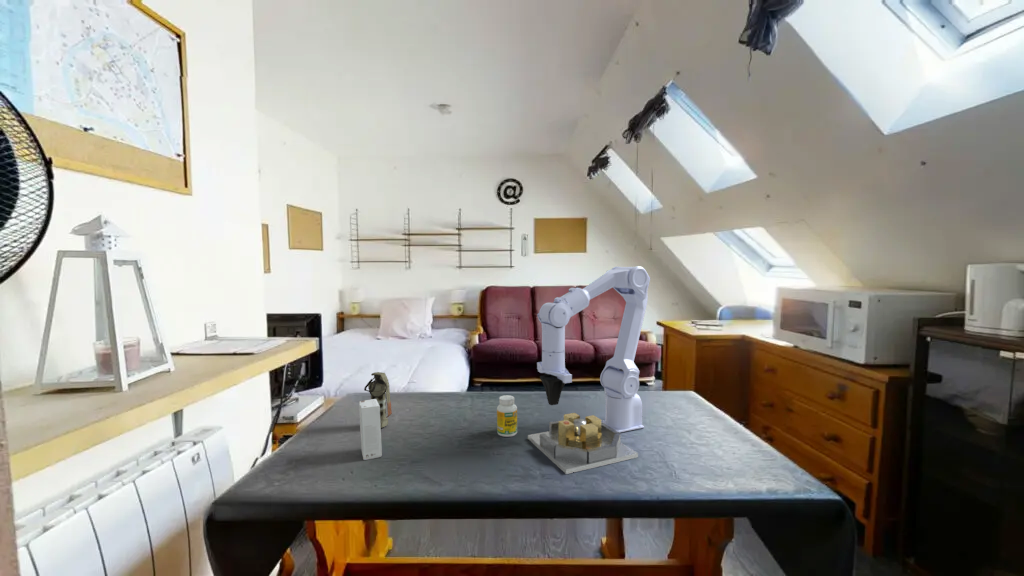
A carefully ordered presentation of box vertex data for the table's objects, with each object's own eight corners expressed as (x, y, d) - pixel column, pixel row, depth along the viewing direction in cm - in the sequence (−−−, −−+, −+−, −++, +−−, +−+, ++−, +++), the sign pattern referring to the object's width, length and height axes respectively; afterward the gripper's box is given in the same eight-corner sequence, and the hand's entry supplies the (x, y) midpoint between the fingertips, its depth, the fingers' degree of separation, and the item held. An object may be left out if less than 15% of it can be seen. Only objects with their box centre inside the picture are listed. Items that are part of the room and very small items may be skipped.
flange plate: (590, 427, 108) (590, 403, 108) (637, 457, 90) (638, 429, 90) (527, 438, 101) (527, 413, 100) (566, 474, 83) (566, 443, 83)
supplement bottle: (510, 427, 108) (510, 393, 108) (521, 434, 104) (521, 398, 103) (493, 432, 105) (493, 396, 105) (504, 439, 101) (503, 402, 100)
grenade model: (360, 431, 106) (359, 376, 105) (378, 421, 112) (377, 370, 112) (380, 434, 104) (378, 378, 103) (397, 425, 110) (396, 372, 109)
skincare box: (382, 457, 91) (381, 405, 91) (362, 461, 89) (360, 408, 89) (379, 446, 97) (378, 397, 96) (359, 450, 95) (358, 400, 94)
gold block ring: (585, 431, 102) (586, 410, 102) (609, 447, 93) (609, 423, 93) (551, 437, 98) (551, 415, 98) (573, 455, 89) (573, 430, 89)
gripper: (526, 346, 104) (526, 397, 104) (553, 357, 90) (553, 416, 91) (550, 344, 107) (550, 394, 107) (579, 355, 93) (579, 411, 94)
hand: (553, 404), depth 99 cm, fingers closed
